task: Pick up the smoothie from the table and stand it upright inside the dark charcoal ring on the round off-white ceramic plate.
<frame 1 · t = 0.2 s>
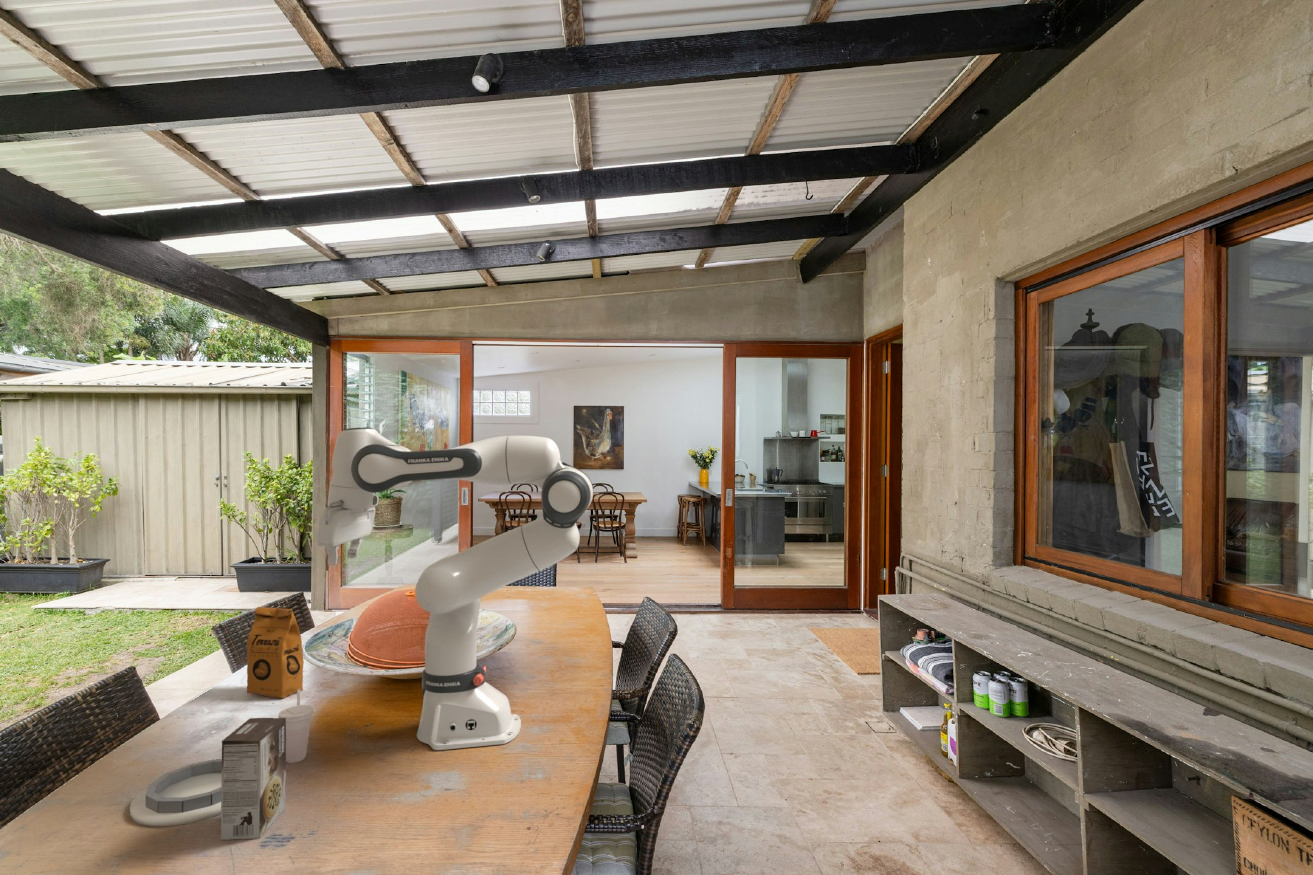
hand: (342, 560, 146), 38 cm above the table, tool pointing down, fingers open, 8 cm apart
smoothie: (295, 759, 134), on the table
coffee package: (275, 693, 171), on the table
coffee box: (254, 825, 111), on the table
ring plate: (199, 795, 120), on the table
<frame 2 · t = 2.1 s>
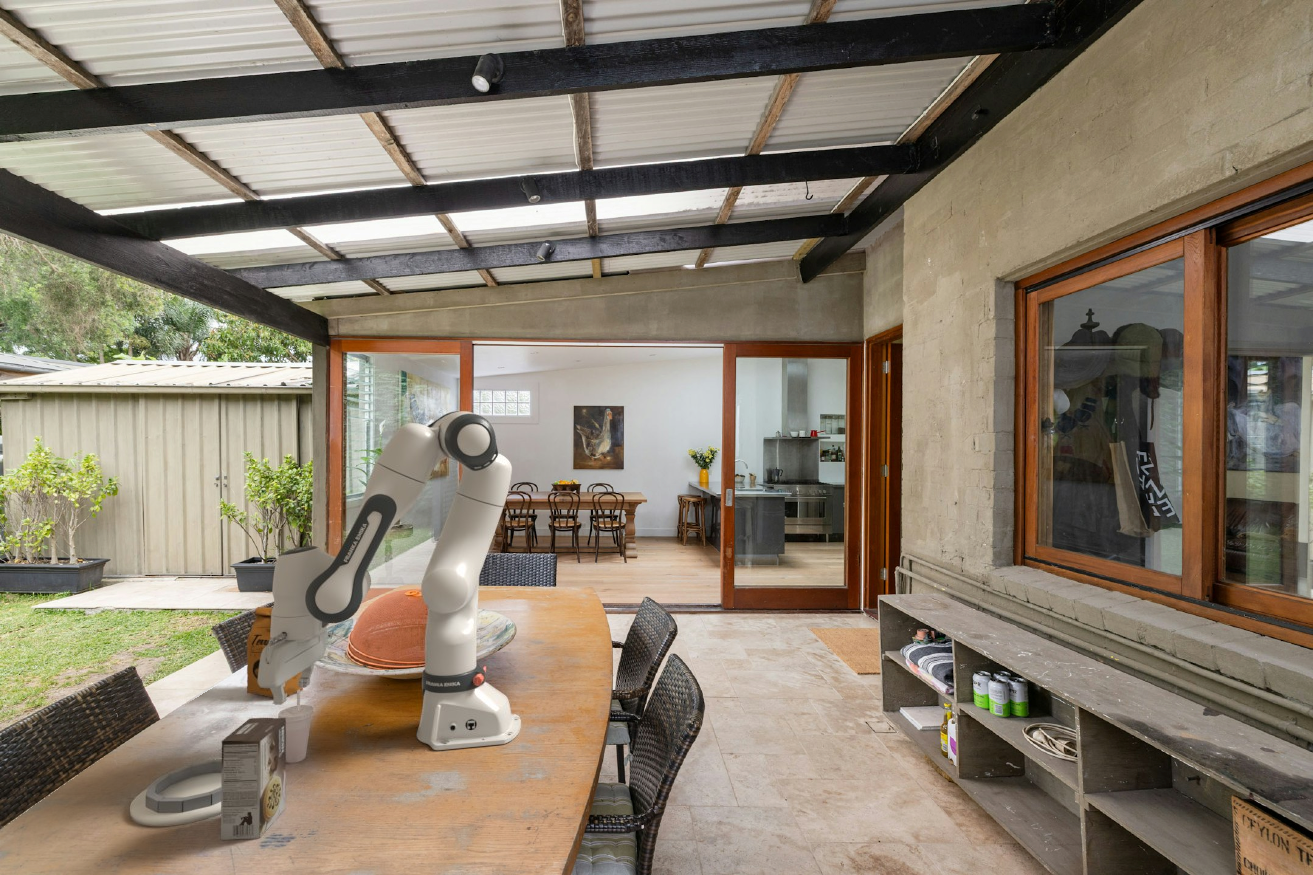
hand: (292, 694, 134), 13 cm above the table, tool pointing down, fingers open, 8 cm apart
nothing on the table moved.
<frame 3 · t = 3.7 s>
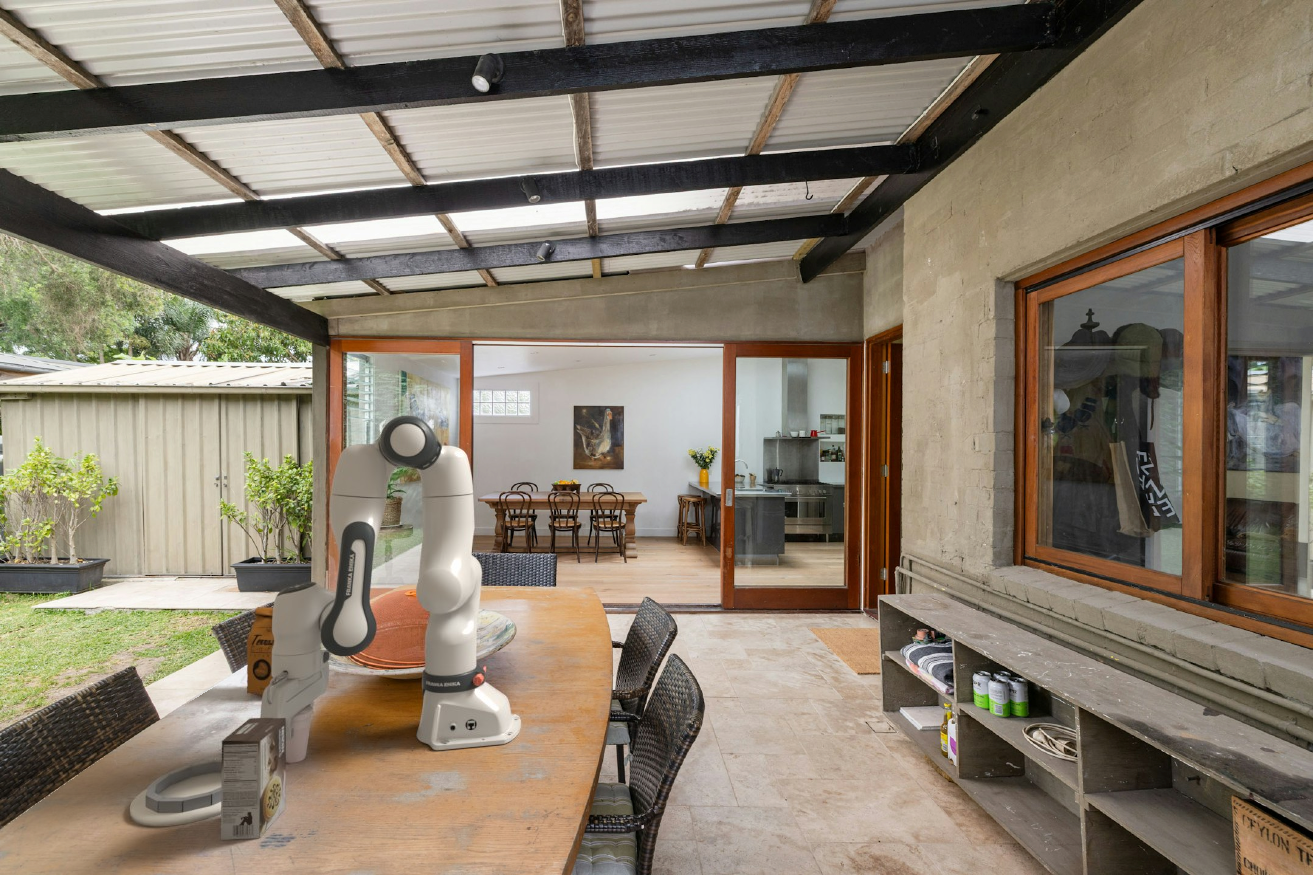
hand: (295, 731, 134), 5 cm above the table, tool pointing down, fingers closed on smoothie, 5 cm apart
smoothie: (295, 759, 134), on the table, touching gripper
everything else where it was.
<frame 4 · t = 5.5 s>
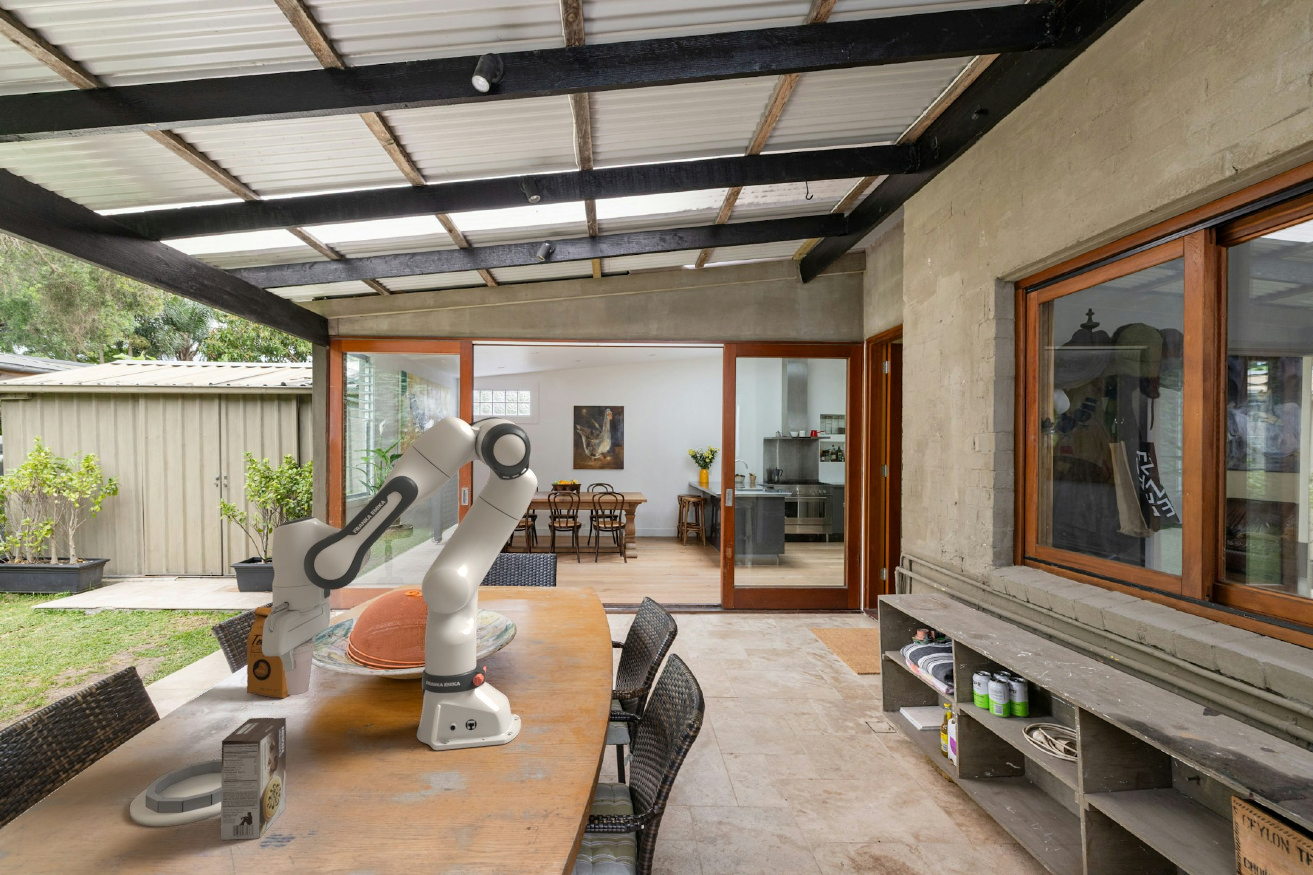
hand: (298, 664, 135), 19 cm above the table, tool pointing down, fingers closed on smoothie, 5 cm apart
smoothie: (298, 692, 135), point 13 cm above the table, touching gripper
everything else where it was.
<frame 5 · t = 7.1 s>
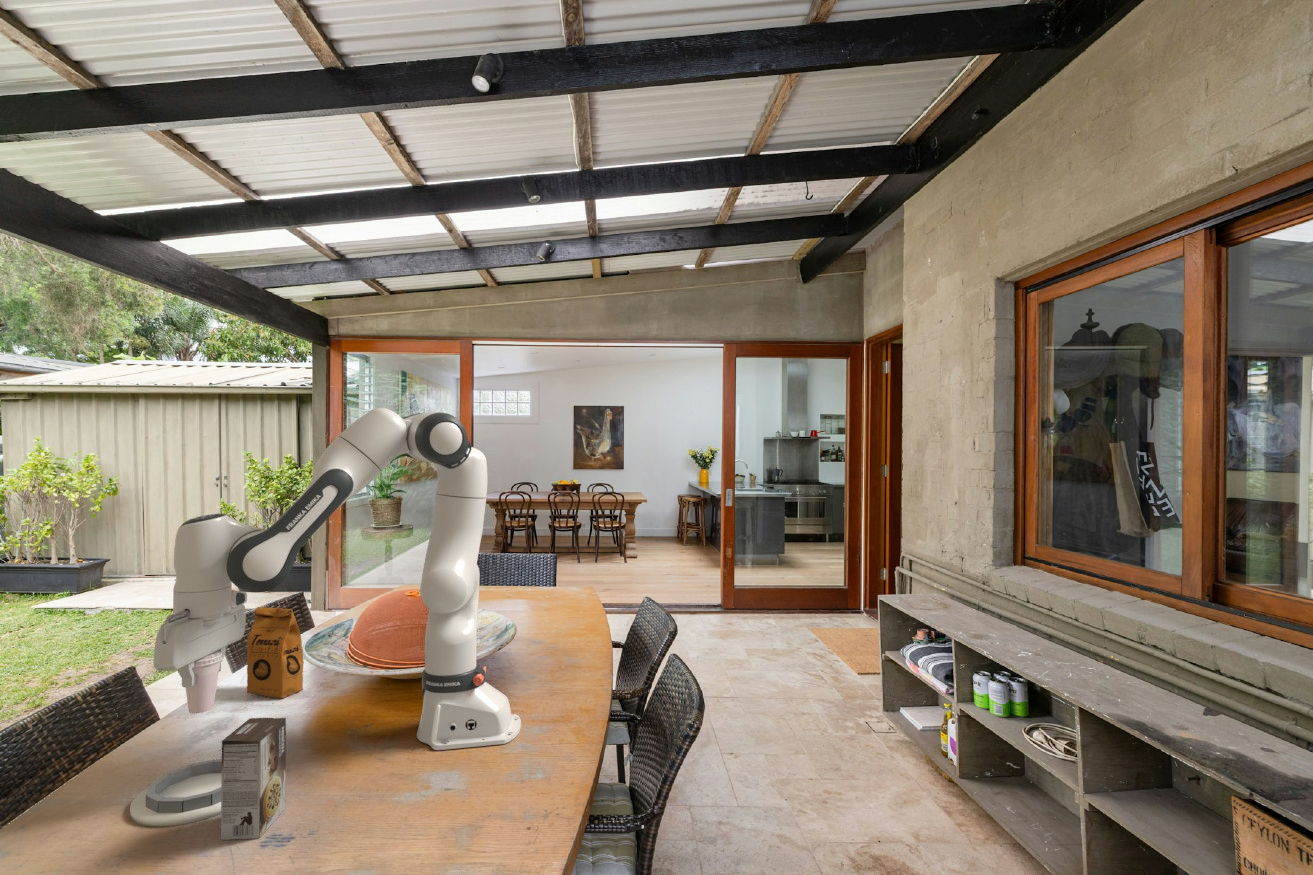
hand: (202, 679, 120), 21 cm above the table, tool pointing down, fingers closed on smoothie, 5 cm apart
smoothie: (201, 710, 120), point 15 cm above the table, touching gripper
everything else where it was.
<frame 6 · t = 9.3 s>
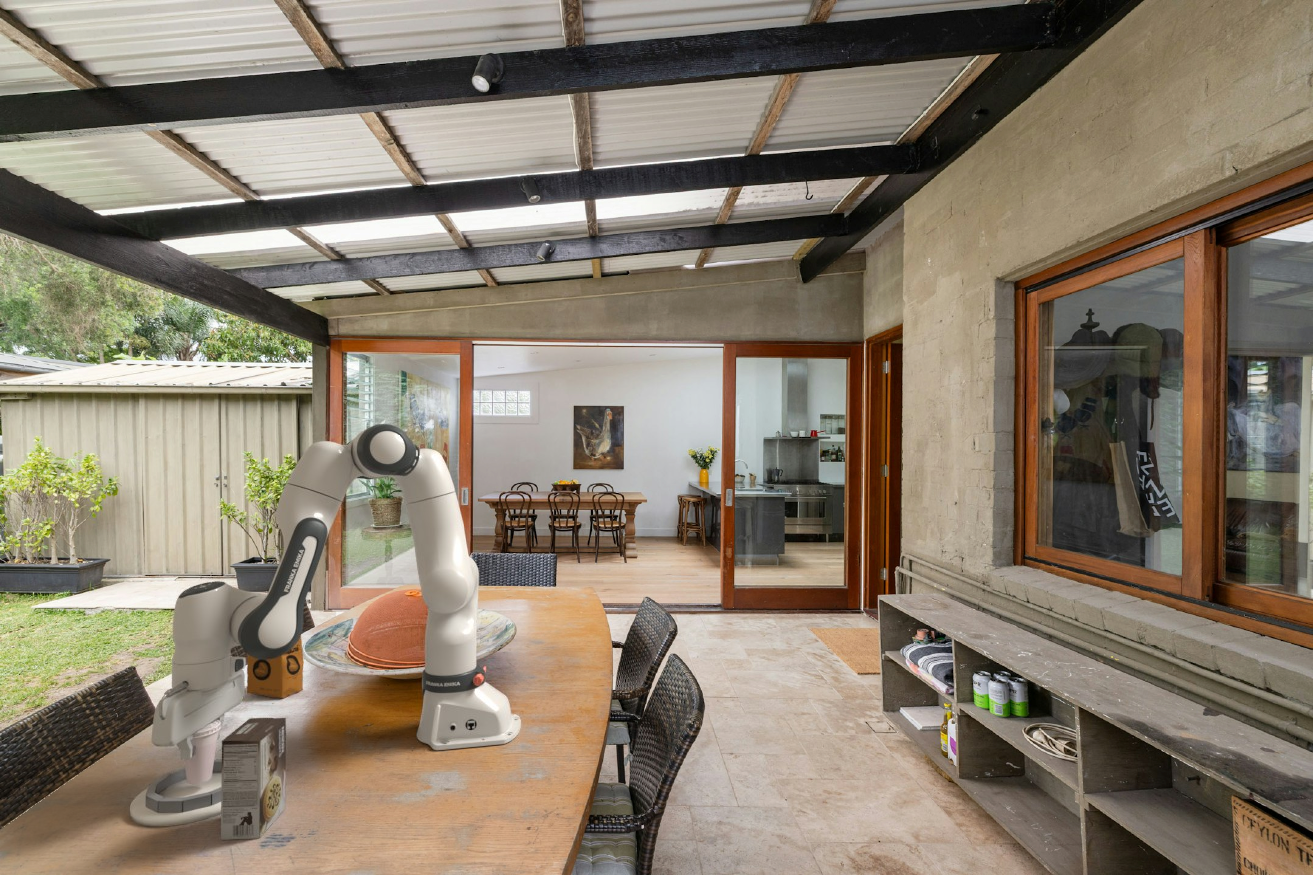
hand: (200, 749, 120), 8 cm above the table, tool pointing down, fingers closed on smoothie, 5 cm apart
smoothie: (199, 780, 120), point 3 cm above the table, touching gripper
everything else where it was.
when the fingers open (7 cm above the table, at t = 10.5 s): smoothie moves 3 cm, resting on ring plate.
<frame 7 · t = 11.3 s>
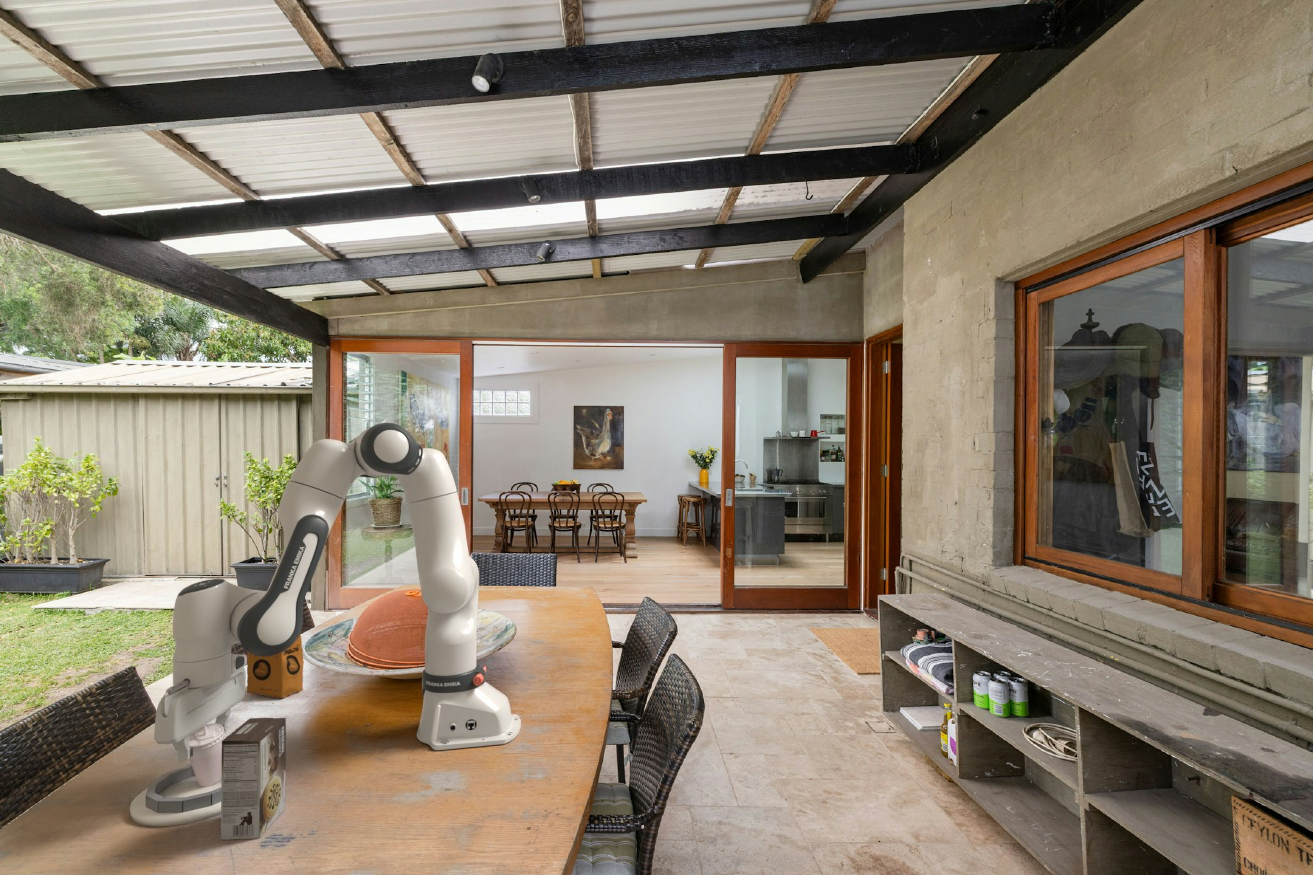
hand: (203, 746, 120), 9 cm above the table, tool pointing down, fingers open, 8 cm apart
smoothie: (210, 780, 123), point 1 cm above the table, touching gripper, ring plate
everything else where it was.
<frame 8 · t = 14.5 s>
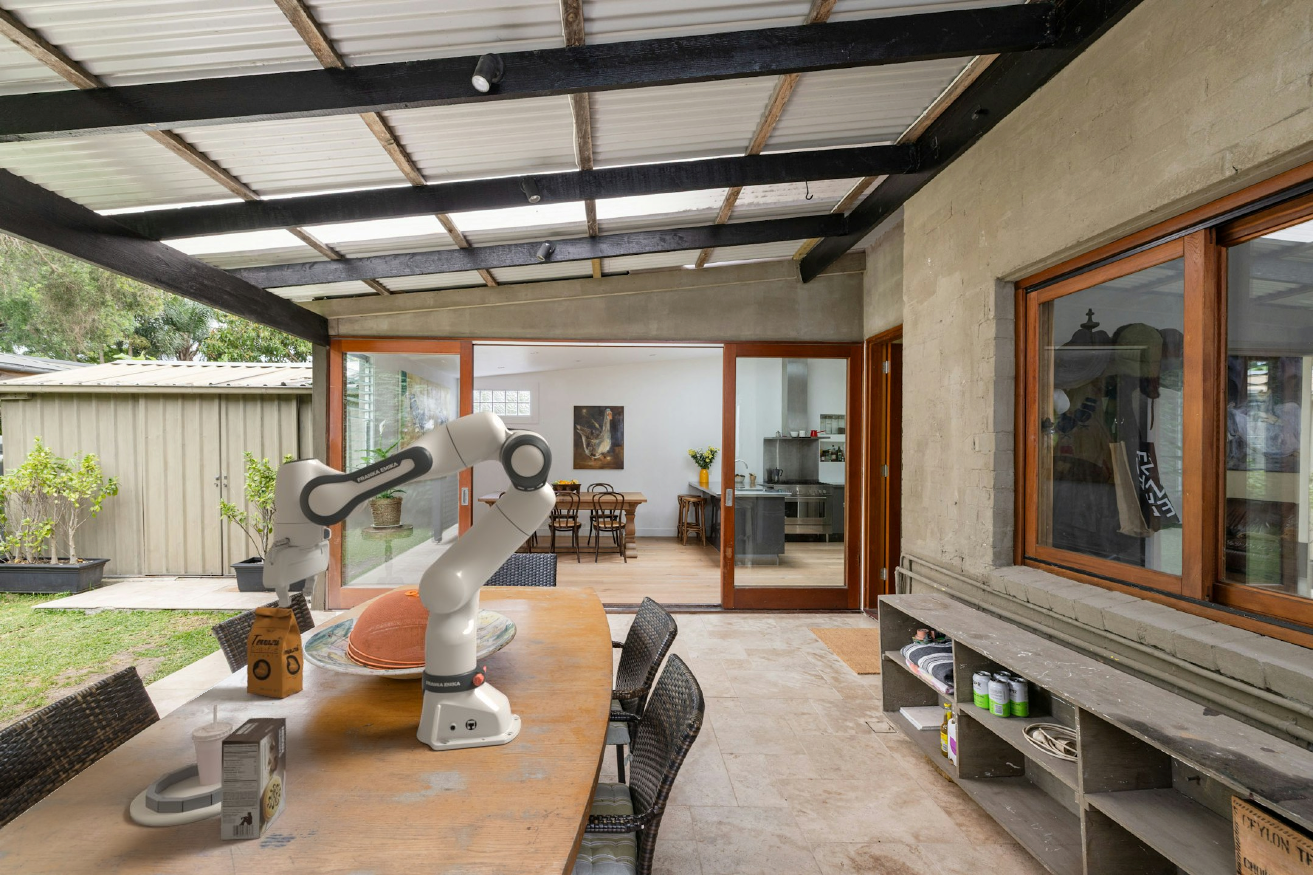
hand: (297, 600, 139), 31 cm above the table, tool pointing down, fingers open, 8 cm apart
smoothie: (212, 781, 123), point 1 cm above the table, touching ring plate
everything else where it was.
at the end: smoothie inside the target area on the ring plate (3.3 cm from its centre), point 0.8 cm above the ring plate's base; smoothie tilted 0°; the gripper is holding nothing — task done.
